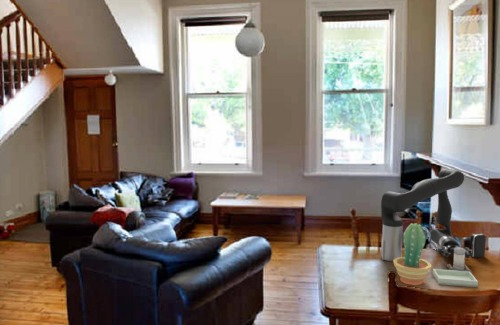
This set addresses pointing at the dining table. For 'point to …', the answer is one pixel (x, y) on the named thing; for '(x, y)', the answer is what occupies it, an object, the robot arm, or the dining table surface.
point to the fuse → (459, 258)
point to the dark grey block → (478, 245)
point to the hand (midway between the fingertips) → (457, 255)
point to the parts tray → (455, 278)
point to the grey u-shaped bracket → (459, 269)
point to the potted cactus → (413, 256)
